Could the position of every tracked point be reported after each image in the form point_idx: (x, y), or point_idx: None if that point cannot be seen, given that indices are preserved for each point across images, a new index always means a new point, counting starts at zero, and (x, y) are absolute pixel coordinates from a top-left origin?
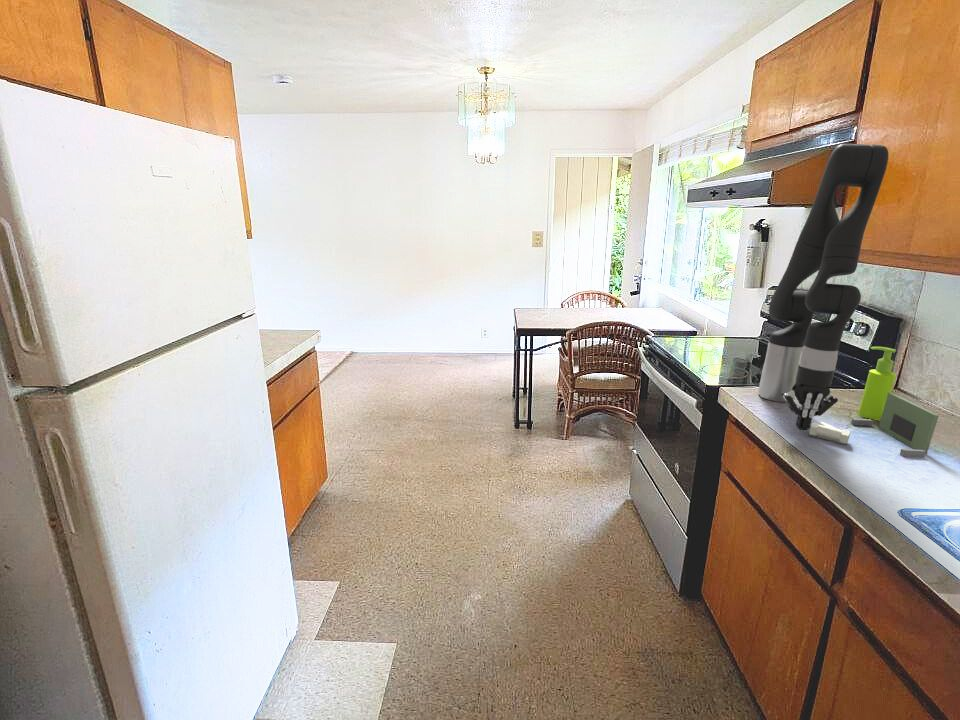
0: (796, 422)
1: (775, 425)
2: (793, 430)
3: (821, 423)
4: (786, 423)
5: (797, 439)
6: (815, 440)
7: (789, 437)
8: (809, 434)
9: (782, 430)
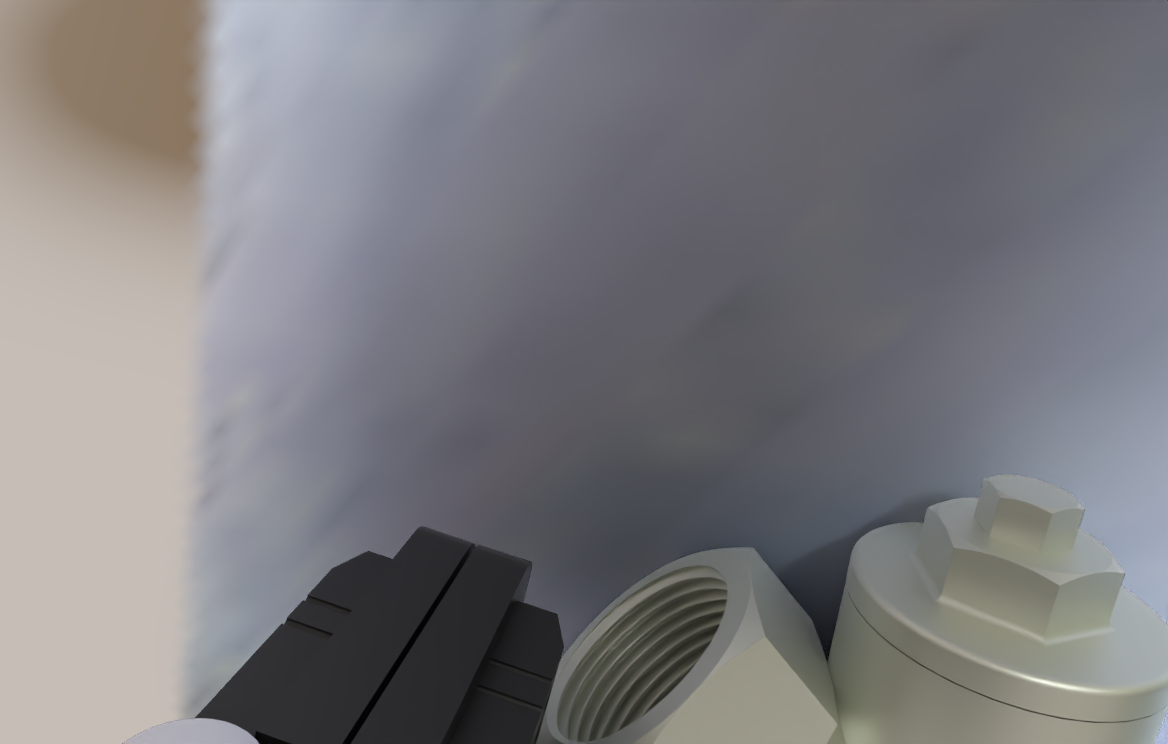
0: (307, 606)
1: (313, 106)
2: (508, 371)
3: (939, 738)
4: (626, 24)
5: None
6: None
7: (260, 571)
8: (577, 650)
9: (307, 336)
